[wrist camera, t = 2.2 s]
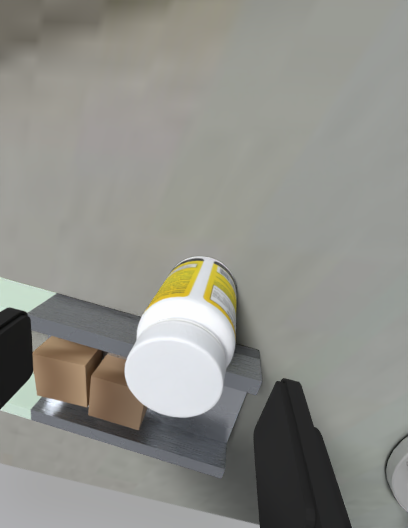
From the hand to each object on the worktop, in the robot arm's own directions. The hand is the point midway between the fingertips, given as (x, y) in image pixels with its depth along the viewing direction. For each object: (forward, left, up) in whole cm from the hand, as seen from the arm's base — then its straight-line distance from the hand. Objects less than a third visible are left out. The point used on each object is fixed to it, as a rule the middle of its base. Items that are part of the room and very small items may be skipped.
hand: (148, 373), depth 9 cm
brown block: (+3, +10, -8) cm, 13 cm away
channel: (+2, +9, -9) cm, 13 cm away
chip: (+7, +9, -8) cm, 14 cm away
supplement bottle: (-1, 0, -9) cm, 9 cm away
